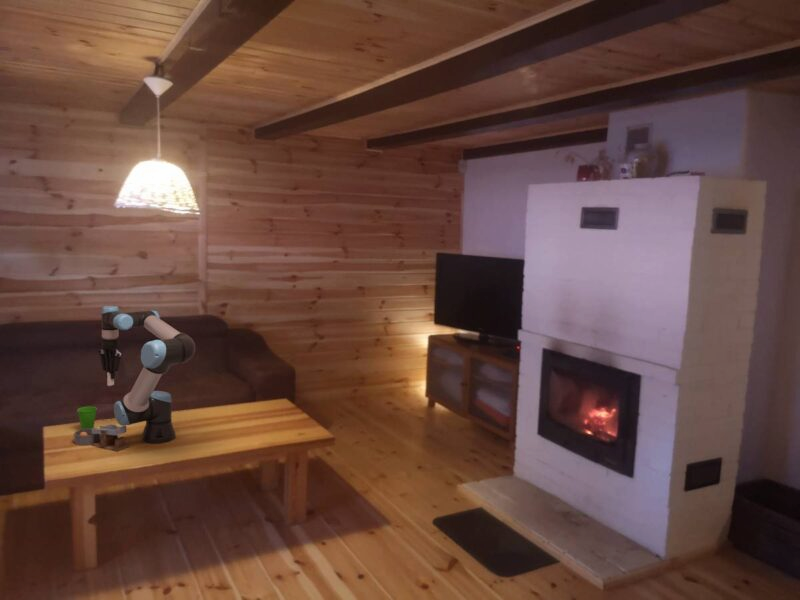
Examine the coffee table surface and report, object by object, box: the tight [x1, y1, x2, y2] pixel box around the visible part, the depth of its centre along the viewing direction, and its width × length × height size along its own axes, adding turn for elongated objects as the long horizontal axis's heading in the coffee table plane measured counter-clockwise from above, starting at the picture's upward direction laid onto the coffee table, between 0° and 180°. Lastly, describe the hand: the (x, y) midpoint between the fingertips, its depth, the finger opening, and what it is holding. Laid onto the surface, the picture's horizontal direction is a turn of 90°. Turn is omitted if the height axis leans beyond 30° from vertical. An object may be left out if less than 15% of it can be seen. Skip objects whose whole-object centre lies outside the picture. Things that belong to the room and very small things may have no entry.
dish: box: [73, 427, 101, 446], centre depth 300 cm, size 11×11×4 cm
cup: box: [76, 406, 98, 430], centre depth 315 cm, size 9×9×11 cm
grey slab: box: [91, 424, 128, 436], centre depth 298 cm, size 16×12×3 cm
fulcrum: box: [90, 425, 130, 453], centre depth 295 cm, size 16×9×9 cm, turn 68°
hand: (110, 384), depth 309 cm, fingers closed
